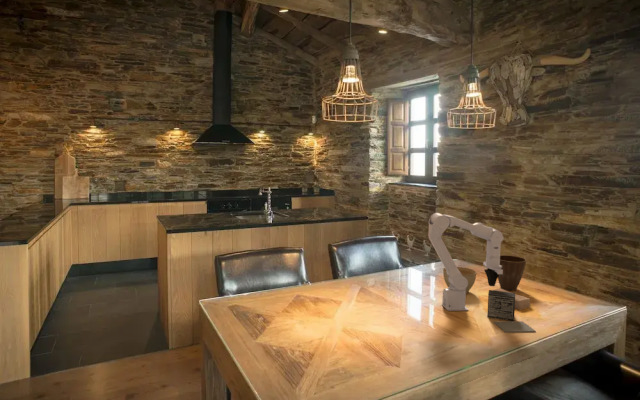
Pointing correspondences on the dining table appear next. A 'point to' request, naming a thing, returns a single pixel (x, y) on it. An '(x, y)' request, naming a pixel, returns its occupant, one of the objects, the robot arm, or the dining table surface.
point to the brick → (519, 300)
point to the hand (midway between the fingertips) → (491, 285)
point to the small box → (501, 305)
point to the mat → (514, 326)
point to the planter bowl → (466, 273)
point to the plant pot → (511, 271)
